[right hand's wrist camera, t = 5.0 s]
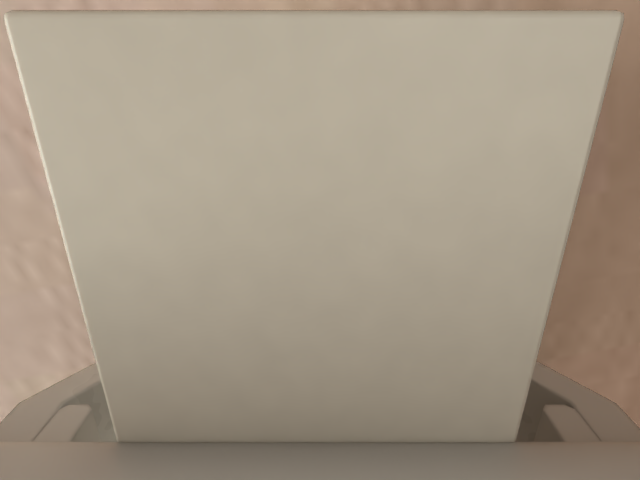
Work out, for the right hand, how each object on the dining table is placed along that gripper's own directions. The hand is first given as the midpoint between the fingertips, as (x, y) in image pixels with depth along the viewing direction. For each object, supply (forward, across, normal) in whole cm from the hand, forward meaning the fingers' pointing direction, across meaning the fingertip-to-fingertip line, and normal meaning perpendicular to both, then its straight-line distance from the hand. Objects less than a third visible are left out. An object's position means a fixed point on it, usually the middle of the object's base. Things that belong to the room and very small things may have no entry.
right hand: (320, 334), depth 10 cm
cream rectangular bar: (+3, 0, -20) cm, 20 cm away
